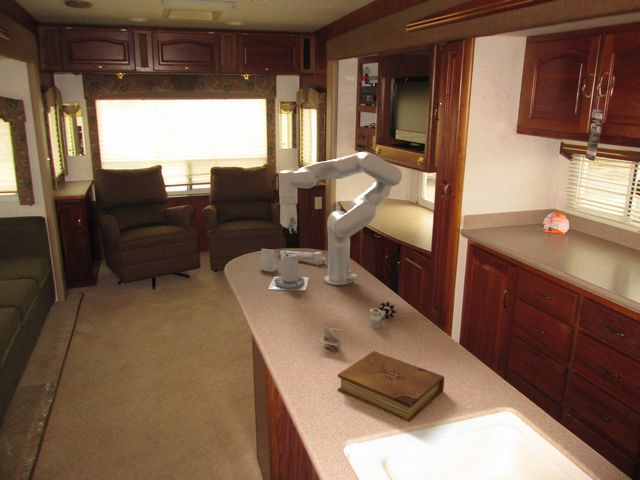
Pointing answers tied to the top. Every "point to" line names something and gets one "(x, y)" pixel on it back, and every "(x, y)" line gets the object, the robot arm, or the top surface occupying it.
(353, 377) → the diary
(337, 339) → the architectural model
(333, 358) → the top surface
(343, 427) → the top surface
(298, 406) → the top surface
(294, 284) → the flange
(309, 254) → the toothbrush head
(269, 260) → the tea bag
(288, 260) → the can
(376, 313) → the valve
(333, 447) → the top surface
